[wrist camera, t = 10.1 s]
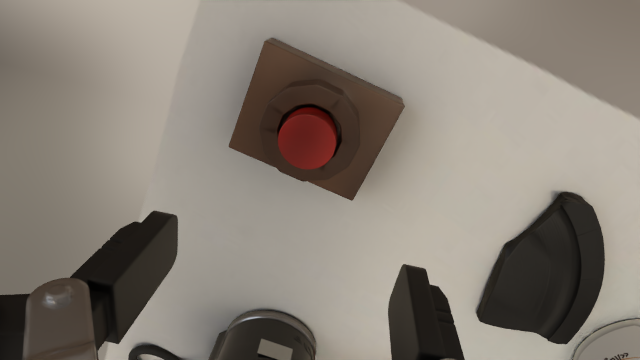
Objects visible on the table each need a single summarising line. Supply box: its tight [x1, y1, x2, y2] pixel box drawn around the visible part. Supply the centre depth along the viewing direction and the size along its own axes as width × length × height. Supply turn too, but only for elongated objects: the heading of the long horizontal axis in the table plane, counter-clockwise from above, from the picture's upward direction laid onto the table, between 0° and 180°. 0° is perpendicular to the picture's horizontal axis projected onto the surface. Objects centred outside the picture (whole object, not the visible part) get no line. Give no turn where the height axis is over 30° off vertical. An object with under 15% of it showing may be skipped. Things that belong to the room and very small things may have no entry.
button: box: [278, 107, 337, 169], centre depth 24 cm, size 4×4×2 cm
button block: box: [229, 38, 405, 200], centre depth 26 cm, size 10×8×4 cm
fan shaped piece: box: [477, 192, 605, 344], centre depth 31 cm, size 8×14×2 cm, turn 171°
